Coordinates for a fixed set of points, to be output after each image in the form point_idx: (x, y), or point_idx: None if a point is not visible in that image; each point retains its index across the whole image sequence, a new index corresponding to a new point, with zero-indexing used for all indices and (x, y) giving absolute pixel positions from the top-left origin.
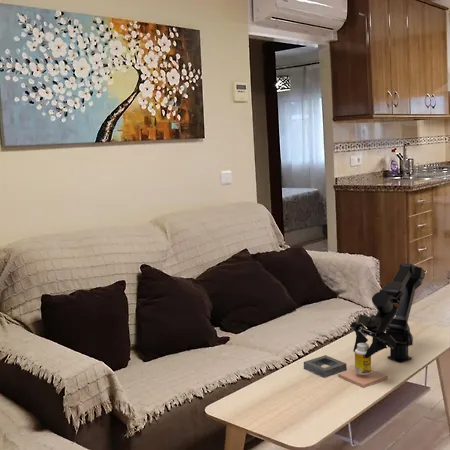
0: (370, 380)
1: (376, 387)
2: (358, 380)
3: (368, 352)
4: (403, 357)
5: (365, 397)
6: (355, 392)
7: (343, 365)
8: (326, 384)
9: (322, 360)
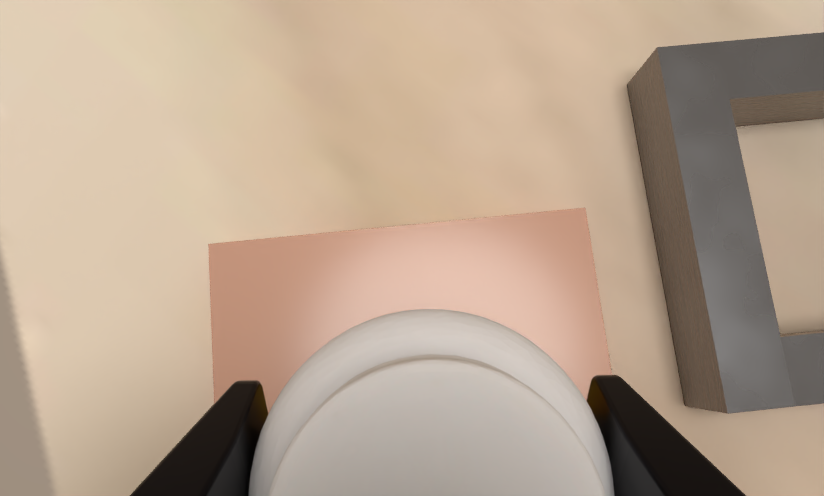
0: None
1: (145, 367)
2: (327, 275)
3: (170, 455)
4: None
5: (50, 123)
6: (187, 117)
7: (711, 358)
8: (482, 11)
9: None
